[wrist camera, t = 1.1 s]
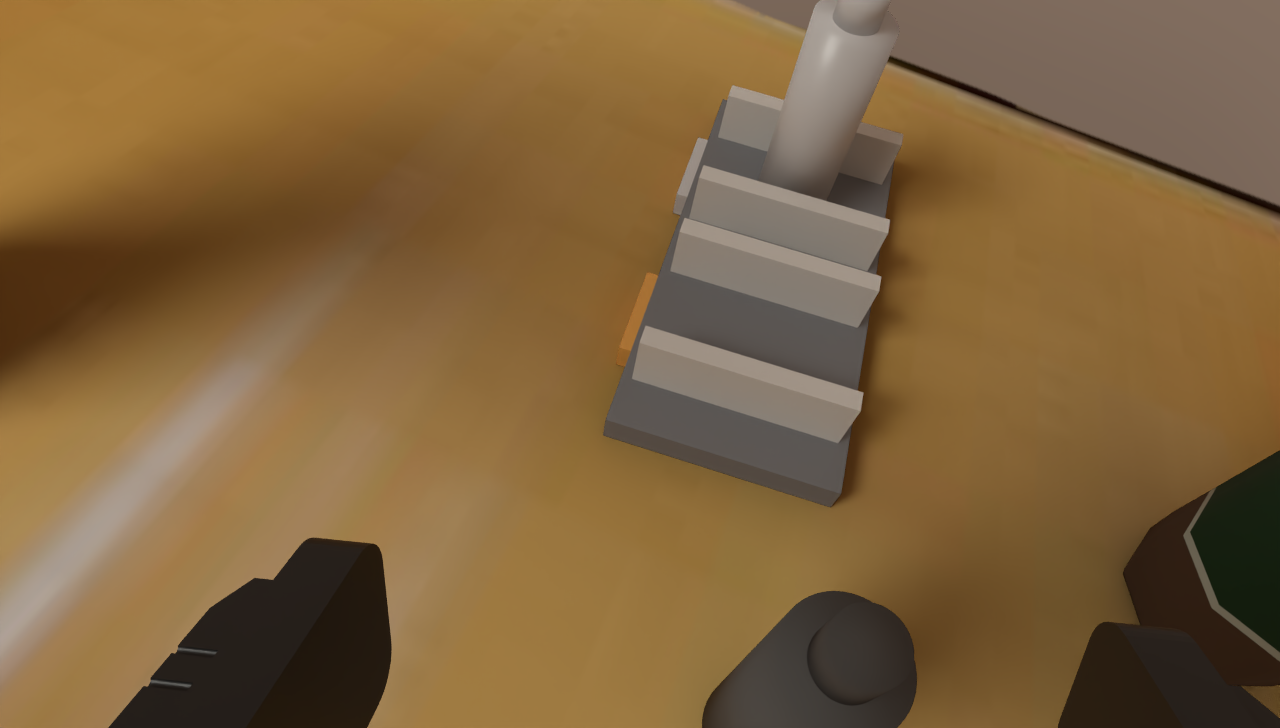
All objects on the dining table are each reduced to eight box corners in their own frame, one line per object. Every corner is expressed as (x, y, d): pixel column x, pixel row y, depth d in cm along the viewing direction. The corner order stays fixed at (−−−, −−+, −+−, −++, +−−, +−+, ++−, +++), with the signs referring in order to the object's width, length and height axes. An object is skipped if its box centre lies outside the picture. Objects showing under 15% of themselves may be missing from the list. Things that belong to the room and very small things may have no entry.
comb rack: (830, 507, 37) (864, 464, 33) (590, 431, 38) (598, 380, 34) (886, 167, 50) (915, 109, 46) (709, 116, 51) (723, 54, 47)
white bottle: (741, 186, 45) (808, -32, 35) (790, 160, 47) (868, -56, 36) (790, 231, 44) (875, 17, 33) (838, 203, 46) (935, -10, 35)
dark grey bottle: (681, 718, 31) (763, 629, 20) (754, 653, 33) (866, 540, 22) (750, 810, 30) (878, 767, 19) (823, 738, 31) (979, 660, 21)
